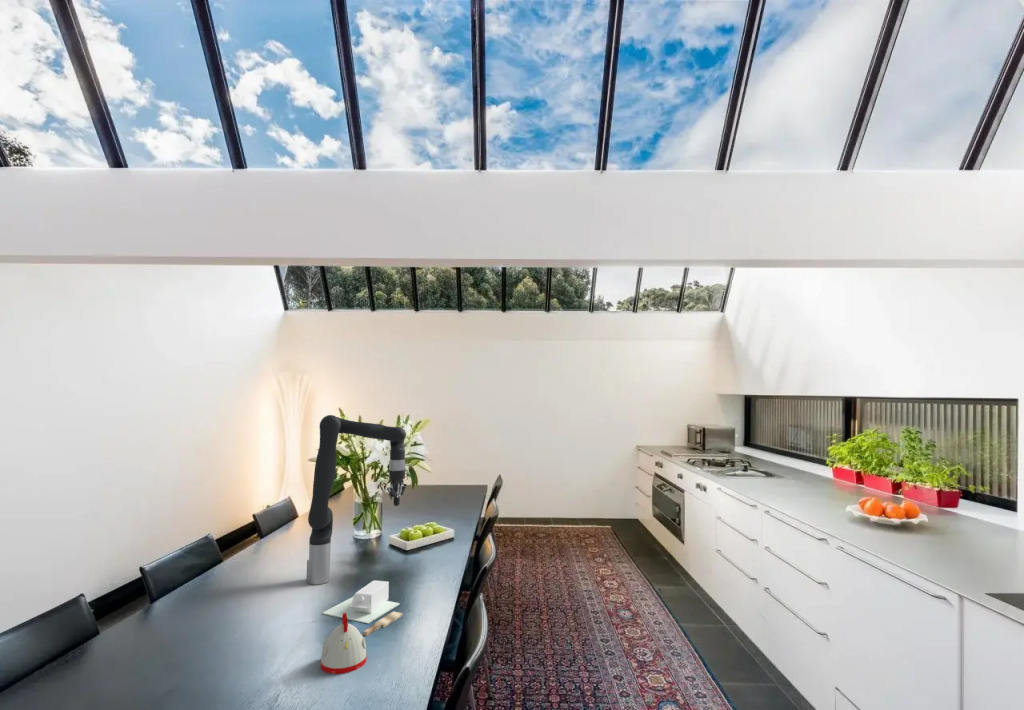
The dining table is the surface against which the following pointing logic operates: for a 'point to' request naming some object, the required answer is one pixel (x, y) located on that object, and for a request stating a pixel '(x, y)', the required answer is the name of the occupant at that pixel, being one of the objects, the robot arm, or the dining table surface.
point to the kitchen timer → (343, 649)
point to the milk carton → (370, 597)
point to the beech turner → (383, 622)
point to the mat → (358, 616)
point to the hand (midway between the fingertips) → (396, 505)
